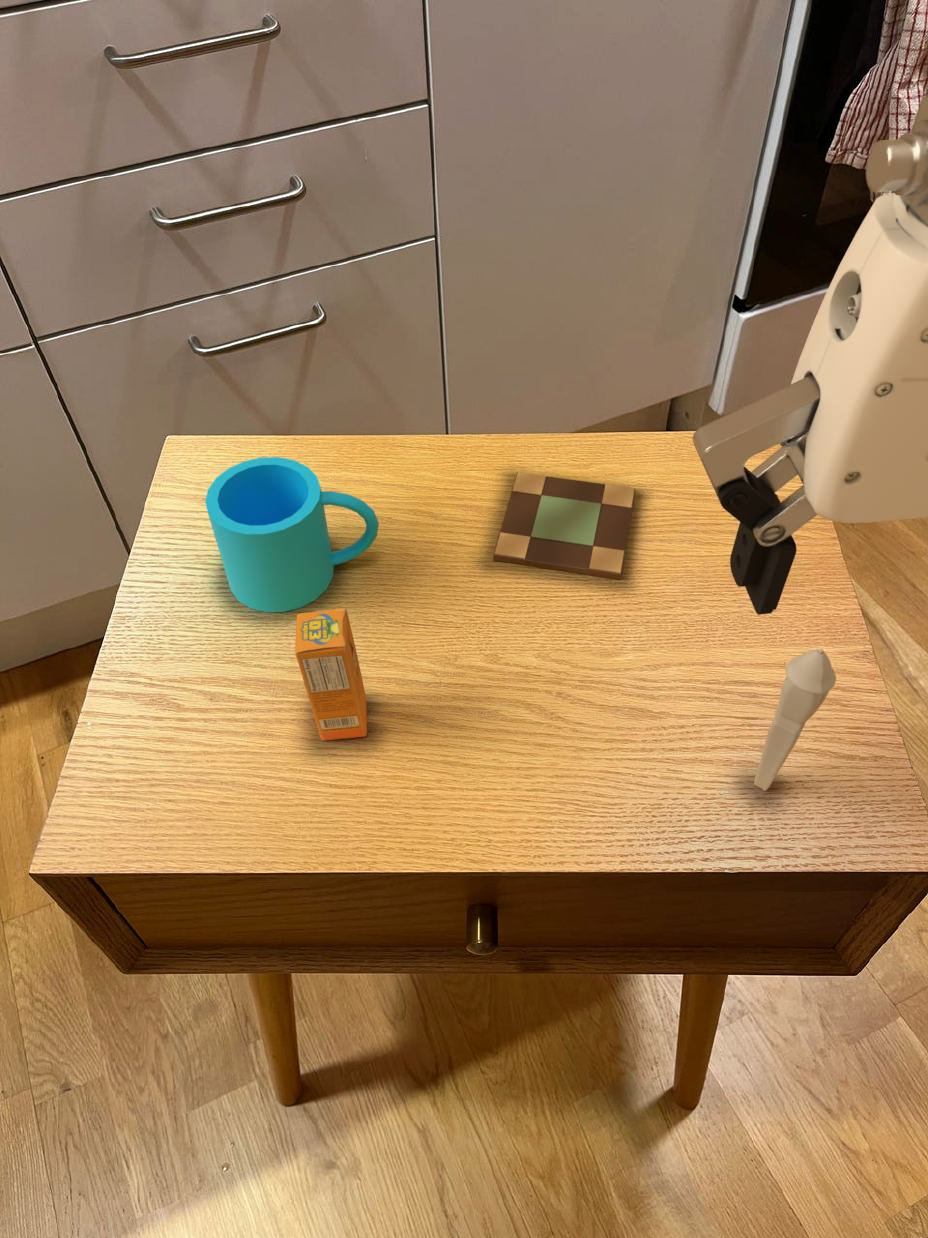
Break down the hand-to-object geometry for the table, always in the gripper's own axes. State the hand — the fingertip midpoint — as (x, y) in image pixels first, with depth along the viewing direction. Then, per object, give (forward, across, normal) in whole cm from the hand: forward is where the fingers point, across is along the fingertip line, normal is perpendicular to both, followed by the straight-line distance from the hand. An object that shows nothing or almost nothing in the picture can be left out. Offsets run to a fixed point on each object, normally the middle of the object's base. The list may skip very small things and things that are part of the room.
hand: (864, 577), depth 41 cm
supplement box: (+24, -24, +12) cm, 37 cm away
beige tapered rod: (+24, +2, +4) cm, 25 cm away
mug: (+24, -26, +27) cm, 45 cm away
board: (+24, -6, +29) cm, 38 cm away
